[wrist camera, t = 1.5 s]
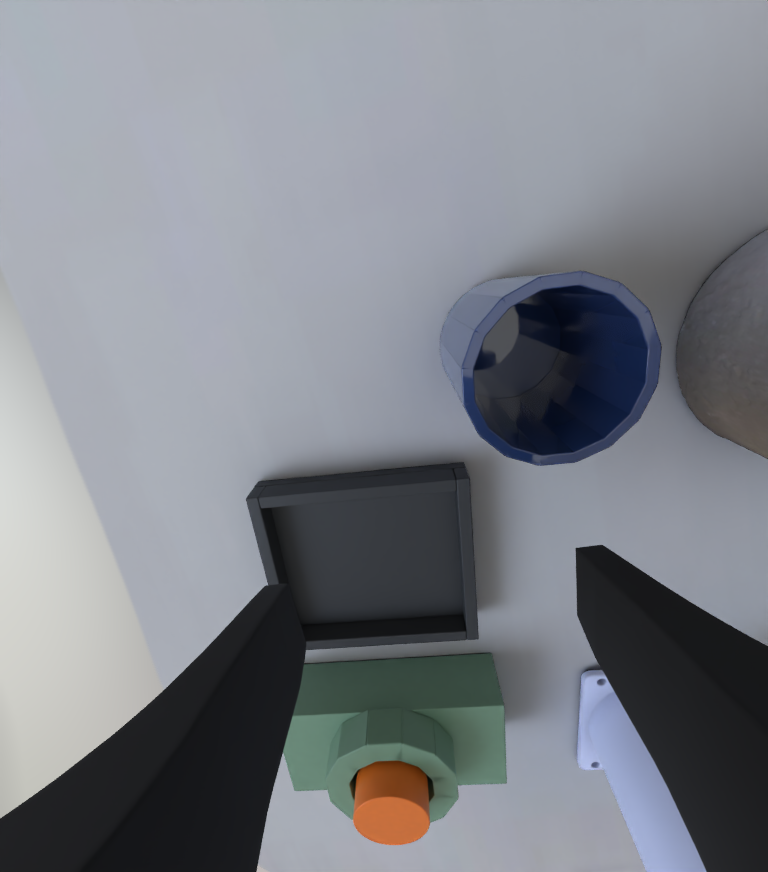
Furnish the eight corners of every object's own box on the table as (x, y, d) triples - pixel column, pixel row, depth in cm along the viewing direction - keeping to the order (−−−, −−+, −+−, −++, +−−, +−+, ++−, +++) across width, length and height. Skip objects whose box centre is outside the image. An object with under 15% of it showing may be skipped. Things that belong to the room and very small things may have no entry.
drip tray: (463, 461, 20) (469, 478, 18) (473, 613, 23) (478, 639, 21) (257, 481, 21) (244, 498, 19) (293, 625, 24) (285, 651, 22)
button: (424, 754, 20) (426, 796, 19) (430, 801, 21) (433, 844, 20) (351, 757, 20) (347, 798, 19) (361, 804, 22) (358, 846, 20)
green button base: (491, 649, 24) (513, 739, 19) (494, 728, 26) (515, 826, 21) (287, 661, 25) (260, 750, 20) (307, 737, 27) (287, 833, 22)
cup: (565, 269, 17) (671, 259, 10) (562, 395, 19) (651, 455, 12) (434, 286, 17) (456, 286, 11) (444, 408, 19) (467, 473, 12)
